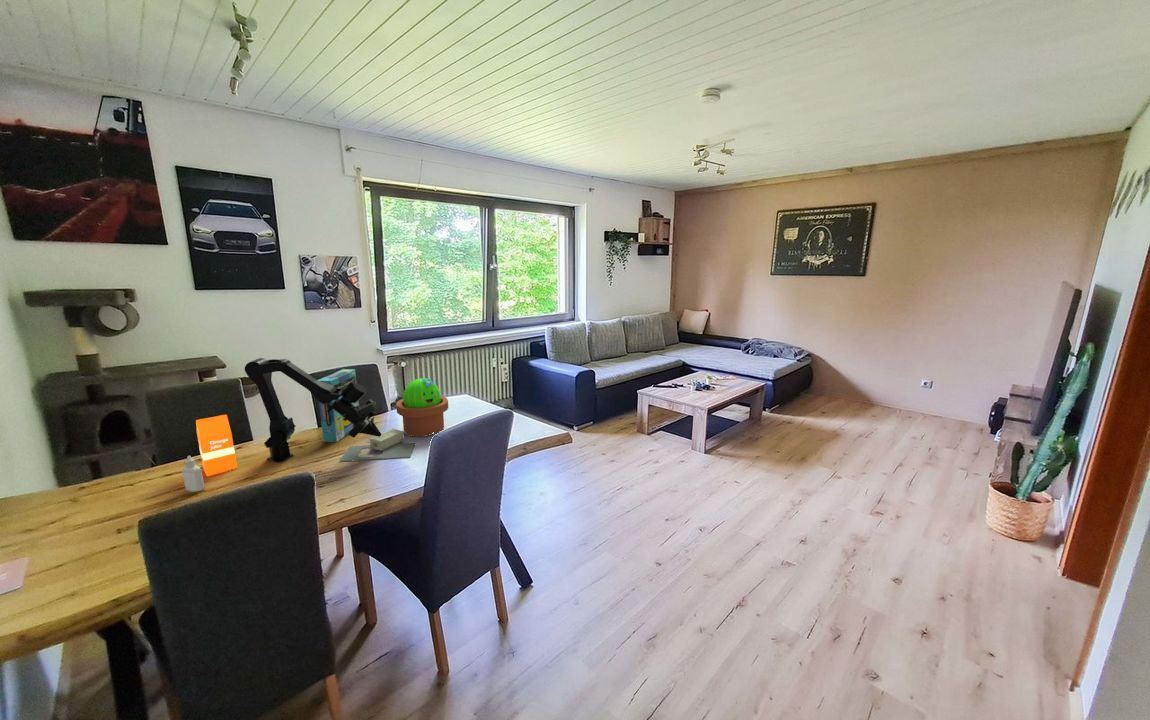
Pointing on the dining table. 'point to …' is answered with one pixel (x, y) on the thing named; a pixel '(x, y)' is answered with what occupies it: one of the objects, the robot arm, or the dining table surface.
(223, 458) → the orange juice
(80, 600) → the dining table surface
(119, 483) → the dining table surface
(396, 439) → the skincare box
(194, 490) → the eye dropper bottle
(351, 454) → the flat grey rectangular plate
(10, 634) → the dining table surface
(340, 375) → the game box
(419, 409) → the potted cactus
